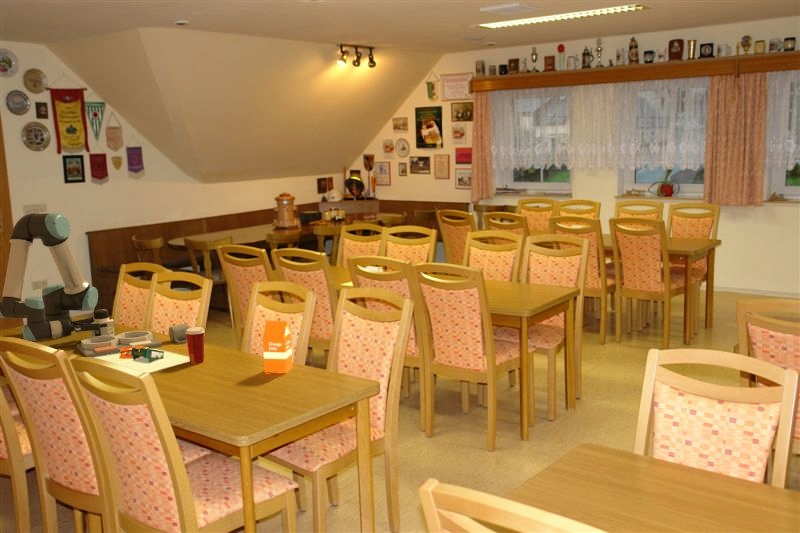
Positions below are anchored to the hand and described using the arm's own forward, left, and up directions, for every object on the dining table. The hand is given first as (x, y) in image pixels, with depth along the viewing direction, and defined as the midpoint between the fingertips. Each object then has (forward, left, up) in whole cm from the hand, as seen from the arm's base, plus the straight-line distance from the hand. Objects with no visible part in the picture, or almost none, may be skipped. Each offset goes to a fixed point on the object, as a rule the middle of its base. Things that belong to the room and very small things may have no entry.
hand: (111, 321), depth 361 cm
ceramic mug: (+25, +25, -9) cm, 36 cm away
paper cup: (+65, +19, -9) cm, 68 cm away
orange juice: (+98, +41, -9) cm, 106 cm away
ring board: (+18, -1, -8) cm, 20 cm away
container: (0, -4, -7) cm, 8 cm away
